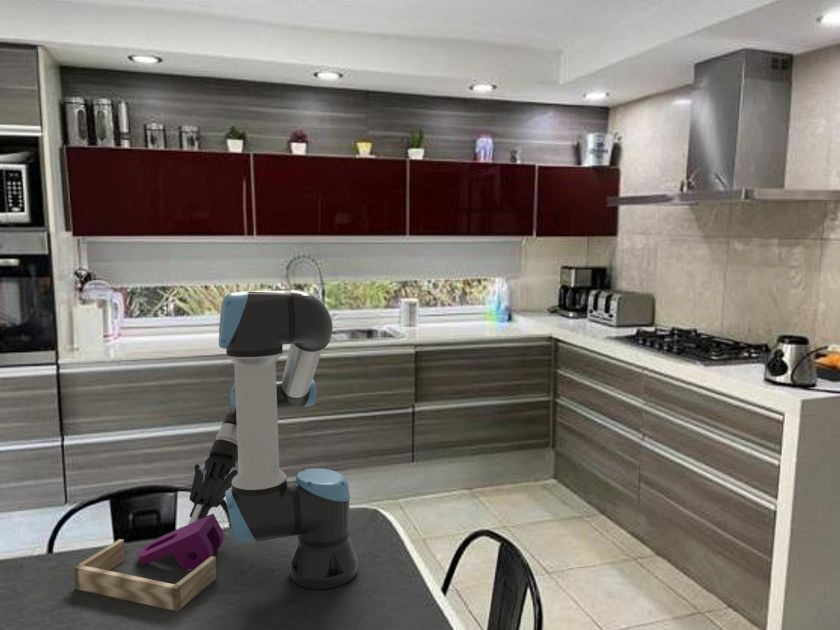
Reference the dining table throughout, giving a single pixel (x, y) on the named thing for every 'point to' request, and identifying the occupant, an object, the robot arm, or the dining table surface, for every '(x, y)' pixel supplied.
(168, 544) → the mounting bracket
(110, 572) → the birch bay
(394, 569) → the dining table surface
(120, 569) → the dining table surface
